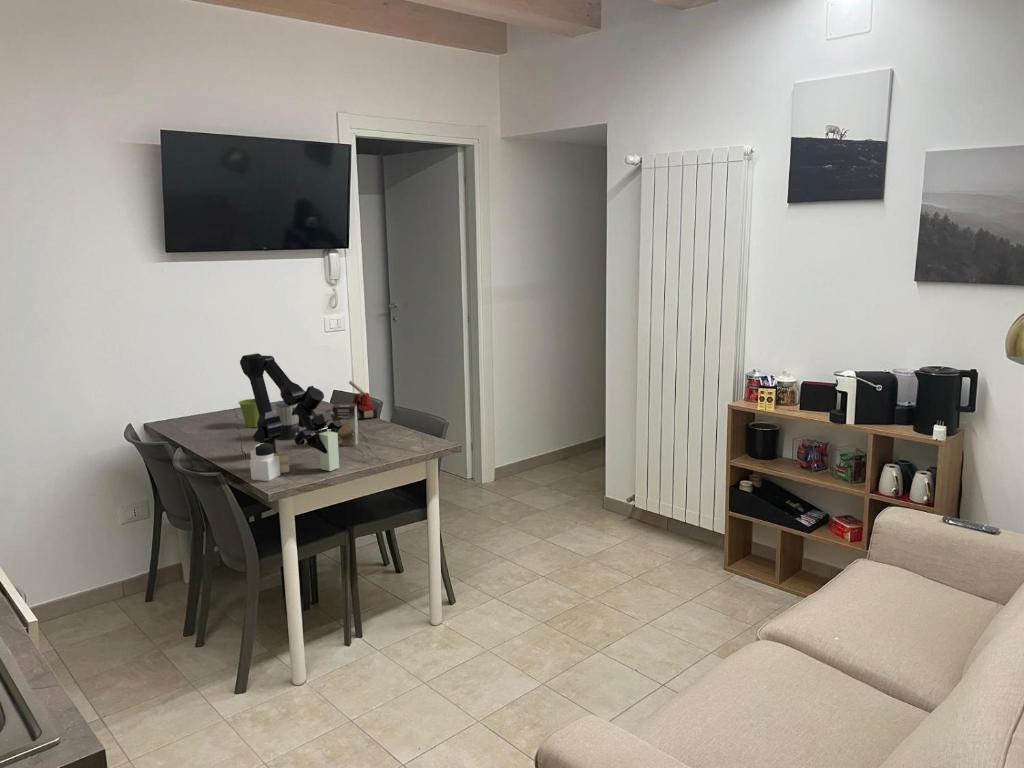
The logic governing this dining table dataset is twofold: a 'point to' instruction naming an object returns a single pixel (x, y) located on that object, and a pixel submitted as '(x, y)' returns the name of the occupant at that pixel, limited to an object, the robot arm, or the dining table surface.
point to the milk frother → (288, 421)
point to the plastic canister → (252, 454)
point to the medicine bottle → (264, 463)
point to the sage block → (329, 451)
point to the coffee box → (346, 423)
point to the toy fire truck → (363, 404)
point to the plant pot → (249, 412)
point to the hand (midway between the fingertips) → (331, 451)
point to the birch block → (283, 462)
